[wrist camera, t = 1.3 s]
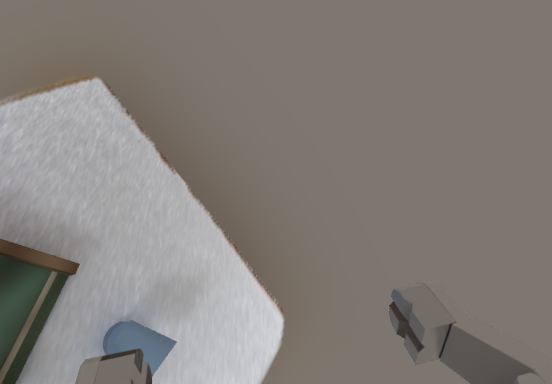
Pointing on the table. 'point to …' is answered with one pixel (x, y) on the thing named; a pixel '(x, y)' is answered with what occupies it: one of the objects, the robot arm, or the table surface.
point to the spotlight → (138, 342)
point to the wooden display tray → (26, 301)
